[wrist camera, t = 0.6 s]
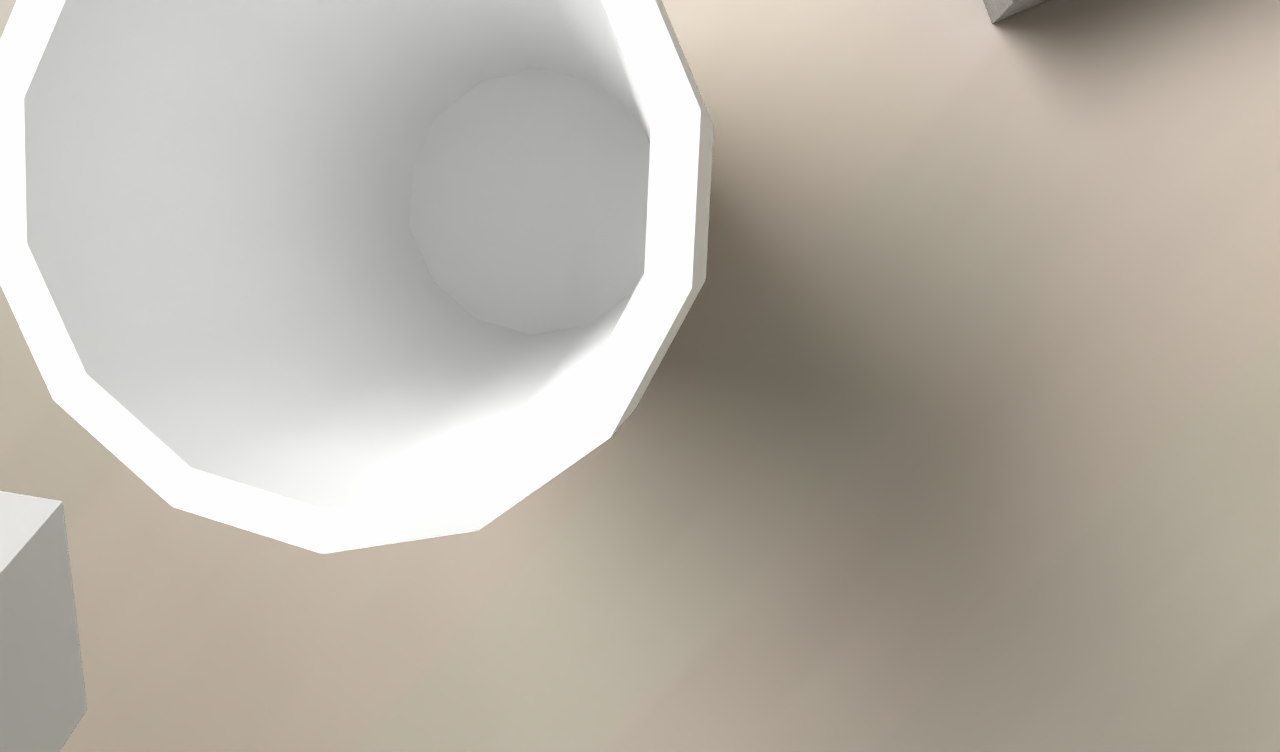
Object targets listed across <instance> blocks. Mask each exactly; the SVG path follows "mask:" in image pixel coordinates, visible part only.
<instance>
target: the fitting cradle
mask: <svg viewBox="0 0 1280 752" xmlns="http://www.w3.org/2000/svg"><path fill="white" fill-rule="evenodd" d="M983 1H984V4H985V6H986V9H987V11H988V14H989V17H990V19H991V22H992V24H993V23H996V22H998V21H1000V20H1003V19H1005V18H1007V17H1009V16H1012V15H1014V14H1016V13H1019V12H1021V11H1023V10H1026V9H1028V8H1030V7H1033V6H1035V5H1037V4H1040V3H1042V2H1044V1H1047V0H983Z"/></svg>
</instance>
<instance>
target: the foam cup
mask: <svg viewBox="0 0 1280 752" xmlns="http://www.w3.org/2000/svg"><path fill="white" fill-rule="evenodd" d="M713 133H714V126H713V124H712V121H711V119H710V116H709V114H708V112H707V109H706V107H705V104H704V102H703V99H702V97H701V95H700V92H699V90H698V87H697V85H696V82H695V80H694V78H693V75H692V73H691V70H690V68H689V66H688V63H687V61H686V58H685V56H684V53H683V51H682V49H681V46H680V44H679V41H678V39H677V37H676V34H675V32H674V29H673V27H672V24H671V22H670V20H669V17H668V15H667V12H666V10H665V7H664V5H663V3H662V0H17V1H16V3H15V6H14V8H13V11H12V13H11V15H10V18H9V20H8V22H7V25H6V27H5V30H4V32H3V34H2V37H1V39H0V285H1V287H2V289H3V291H4V294H5V296H6V298H7V300H8V302H9V305H10V307H11V309H12V311H13V313H14V315H15V318H16V320H17V322H18V324H19V326H20V329H21V331H22V333H23V335H24V337H25V339H26V342H27V344H28V346H29V348H30V350H31V353H32V355H33V357H34V359H35V361H36V363H37V366H38V368H39V370H40V372H41V374H42V377H43V379H44V381H45V383H46V385H47V387H48V390H49V392H50V394H51V396H52V398H53V400H54V401H55V402H56V403H57V404H58V405H59V406H61V407H62V408H63V409H64V410H65V411H66V412H67V413H68V414H69V415H71V416H72V417H73V418H74V419H75V420H76V421H77V422H78V423H79V424H81V425H82V426H83V427H84V428H85V429H86V430H87V431H88V432H89V433H91V434H92V435H93V436H94V437H95V438H96V439H97V440H98V441H99V442H101V443H102V444H103V445H104V446H105V447H106V448H107V449H108V450H109V451H111V452H112V453H113V454H114V455H115V456H116V457H117V458H118V459H119V460H121V461H122V462H123V463H124V464H125V465H126V466H127V467H128V468H129V469H131V470H132V471H133V472H134V473H135V474H136V475H137V476H138V477H140V478H141V479H142V480H143V481H144V482H145V483H146V484H147V485H148V486H150V487H151V488H152V489H153V490H154V491H155V492H156V493H157V494H158V495H160V496H161V497H162V498H163V499H164V500H165V501H166V502H167V503H168V504H170V505H171V506H172V507H174V508H177V509H180V510H184V511H187V512H190V513H193V514H196V515H200V516H203V517H206V518H209V519H212V520H216V521H219V522H222V523H225V524H228V525H231V526H235V527H238V528H241V529H244V530H247V531H251V532H254V533H257V534H260V535H263V536H267V537H270V538H273V539H276V540H279V541H282V542H286V543H289V544H292V545H295V546H298V547H302V548H305V549H308V550H311V551H314V552H318V553H321V554H326V553H332V552H339V551H346V550H352V549H359V548H366V547H373V546H379V545H386V544H393V543H399V542H406V541H413V540H420V539H426V538H433V537H440V536H446V535H453V534H460V533H466V532H473V531H478V530H480V529H481V528H483V527H484V526H486V525H487V524H488V523H490V522H491V521H493V520H494V519H495V518H497V517H498V516H500V515H501V514H503V513H504V512H505V511H507V510H508V509H510V508H511V507H513V506H514V505H515V504H517V503H518V502H520V501H521V500H523V499H524V498H525V497H527V496H528V495H530V494H531V493H532V492H534V491H535V490H537V489H538V488H540V487H541V486H542V485H544V484H545V483H547V482H548V481H550V480H551V479H552V478H554V477H555V476H557V475H558V474H560V473H561V472H562V471H564V470H565V469H567V468H568V467H569V466H571V465H572V464H574V463H575V462H577V461H578V460H579V459H581V458H582V457H584V456H585V455H587V454H588V453H589V452H591V451H592V450H594V449H595V448H597V447H598V446H599V445H601V444H602V443H604V442H605V441H606V440H608V439H609V438H611V437H612V435H613V434H614V433H615V432H616V431H617V430H618V429H619V427H620V426H621V425H622V424H623V423H624V422H625V421H626V419H627V418H628V417H629V416H630V415H631V414H632V412H633V411H634V410H635V409H636V407H637V405H638V403H639V401H640V400H641V398H642V396H643V394H644V392H645V390H646V389H647V387H648V385H649V383H650V381H651V379H652V378H653V376H654V374H655V372H656V370H657V368H658V367H659V365H660V363H661V361H662V359H663V357H664V356H665V354H666V352H667V350H668V348H669V346H670V345H671V343H672V341H673V339H674V337H675V335H676V334H677V332H678V330H679V328H680V326H681V324H682V323H683V321H684V319H685V317H686V315H687V313H688V312H689V310H690V308H691V306H692V304H693V302H694V301H695V299H696V297H697V295H698V293H699V291H700V290H701V288H702V286H703V284H704V282H705V280H706V267H707V248H708V229H709V210H710V191H711V172H712V152H713Z"/></svg>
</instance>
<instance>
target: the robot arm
mask: <svg viewBox="0 0 1280 752" xmlns="http://www.w3.org/2000/svg"><path fill="white" fill-rule="evenodd" d="M86 711H87V702H86V693H85V685H84V676H83V668H82V660H81V651H80V643H79V634H78V626H77V618H76V609H75V601H74V593H73V584H72V576H71V567H70V559H69V551H68V542H67V534H66V525H65V517H64V509H63V501H57V500H51V499H45V498H39V497H33V496H27V495H21V494H16V493H10V492H4V491H0V752H60V750H61V749H62V747H63V746H64V744H65V743H66V741H67V740H68V738H69V737H70V735H71V734H72V732H73V730H74V729H75V727H76V726H77V724H78V723H79V721H80V720H81V718H82V717H83V715H84V714H85V712H86Z"/></svg>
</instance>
